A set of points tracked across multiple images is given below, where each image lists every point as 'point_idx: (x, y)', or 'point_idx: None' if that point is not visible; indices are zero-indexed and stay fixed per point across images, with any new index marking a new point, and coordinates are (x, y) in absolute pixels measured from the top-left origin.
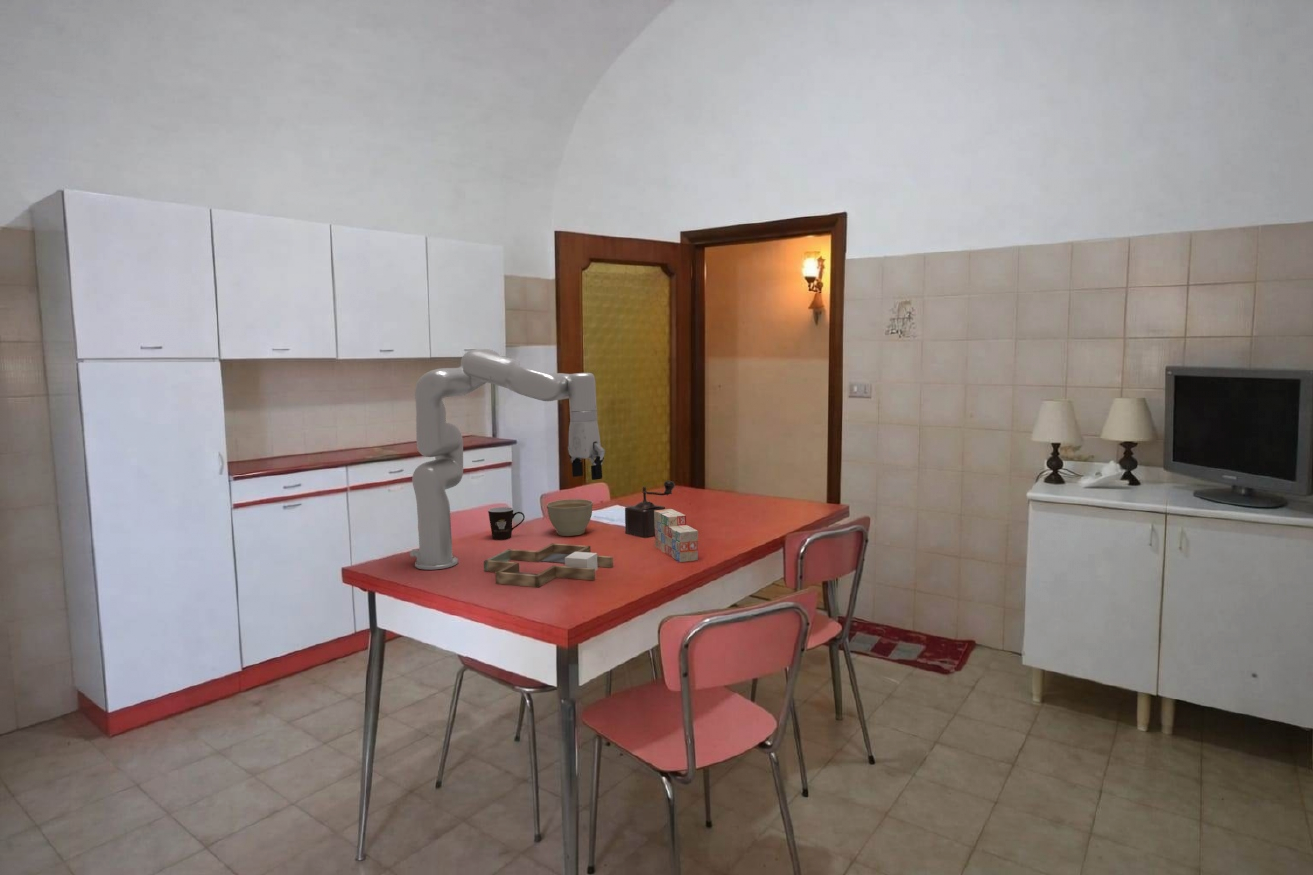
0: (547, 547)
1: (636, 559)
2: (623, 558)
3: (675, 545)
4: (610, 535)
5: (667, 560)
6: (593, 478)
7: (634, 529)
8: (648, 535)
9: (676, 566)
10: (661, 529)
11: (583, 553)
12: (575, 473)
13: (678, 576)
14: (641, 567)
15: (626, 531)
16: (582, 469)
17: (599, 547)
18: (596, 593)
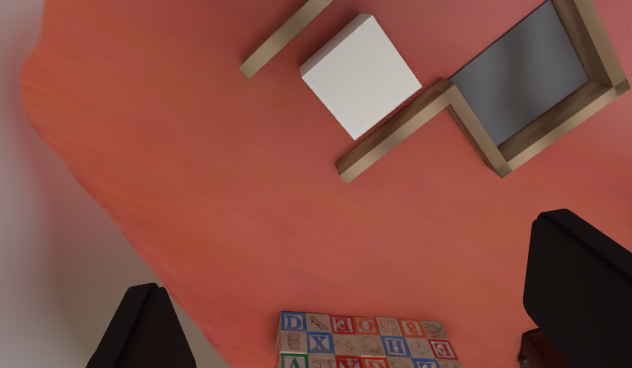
0: (599, 51)
1: (368, 246)
2: (398, 224)
3: (311, 342)
4: None
5: (313, 297)
6: (132, 301)
7: None
8: (524, 344)
9: (253, 292)
10: (410, 365)
11: (380, 100)
12: (554, 250)
13: (168, 263)
14: (292, 226)
15: None
16: (564, 356)
17: None
18: (100, 6)
